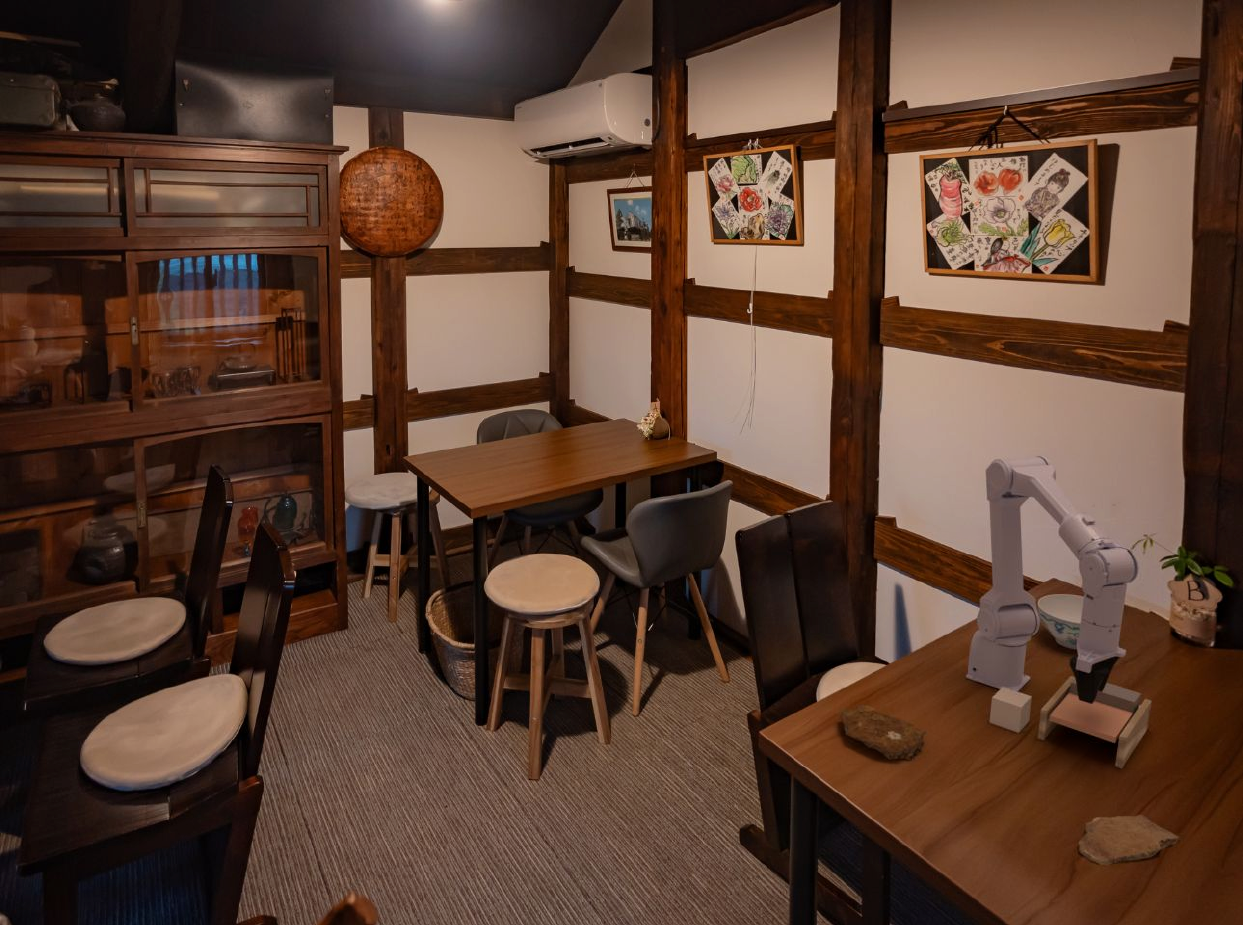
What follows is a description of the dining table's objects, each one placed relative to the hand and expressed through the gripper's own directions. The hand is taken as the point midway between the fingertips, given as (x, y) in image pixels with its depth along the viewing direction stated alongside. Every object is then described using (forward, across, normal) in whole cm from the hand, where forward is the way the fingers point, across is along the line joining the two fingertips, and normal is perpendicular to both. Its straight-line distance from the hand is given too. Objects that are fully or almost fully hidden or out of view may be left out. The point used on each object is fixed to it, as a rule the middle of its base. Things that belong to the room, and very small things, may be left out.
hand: (1091, 695), depth 144 cm
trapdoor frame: (+9, +5, 0) cm, 11 cm away
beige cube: (+10, -1, +12) cm, 15 cm away
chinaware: (+10, +39, +14) cm, 42 cm away
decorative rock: (+10, -21, +27) cm, 36 cm away
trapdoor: (+5, +4, 0) cm, 7 cm away
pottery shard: (+10, -22, -11) cm, 27 cm away
